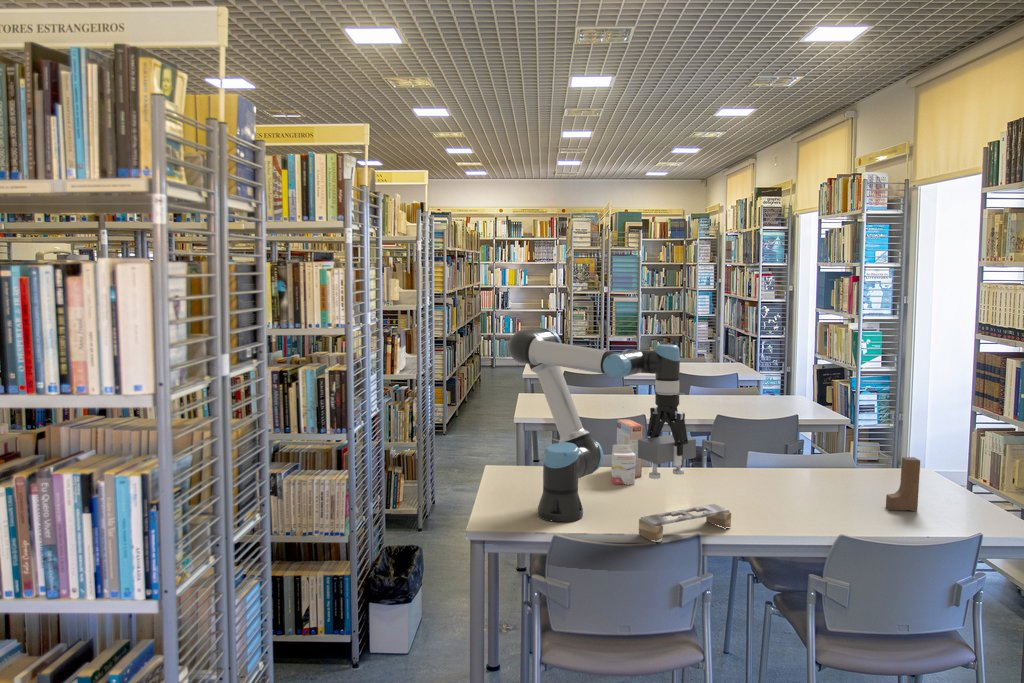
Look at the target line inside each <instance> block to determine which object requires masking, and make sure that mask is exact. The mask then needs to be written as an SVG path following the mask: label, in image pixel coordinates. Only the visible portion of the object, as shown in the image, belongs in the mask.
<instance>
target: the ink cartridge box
mask: <svg viewBox="0 0 1024 683" xmlns="http://www.w3.org/2000/svg"><path fill="white" fill-rule="evenodd" d="M620 447H626V448H627V449H619V448H620ZM635 461H636V455H635V454H634V453H633V445H620V444H619V445H617V444H612V452H611V472H610V482H611V483H612V485H613V484H614V485H615V484H622V485H621V486H623V485H624V484H625V485H624V486H626V484H627V486H628V485H629V484H635V485H636V483H635V482H636V481H635V480H636V477H635ZM629 486H630V485H629Z"/></svg>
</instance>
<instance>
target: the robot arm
mask: <svg viewBox="0 0 1024 683" xmlns="http://www.w3.org/2000/svg"><path fill="white" fill-rule="evenodd" d="M507 346H508V352H509V355H510V356H511V358H512V360H514V361H515V362H517V363H519V364H526V365H528V366H529V368H530V371H531V372H532V373H535V374H536V375H537V377H538V381H539V384H540V385H541V388H542V392H543V394H544V396H545V399H546V403H547V405H548V407H549V410H550V412H551V416H552V418H553V421H554V424H555V425H556V426H555V427H556V429H557V432H558V434H559V436H560V437H559V441H558V442H556V443H555V442H554V443H550V444H548V445H547V446H546V447H545V448H544V450H543V455H542V456H543V457H542V463H543V464H542V466H543V467H542V468H543V470H542V473H543V474H542V480H543V481H542V494H541V497H540V499H539V503H538V505H537V513H536V514H537V516H538V517H539V518H540V517H541V518H540V519H542V518H543V520H544V519H547V520H546V521H548V520H552V521H551V522H554V521H562V522H561V523H565V522H564V521H571V522H574V521H575V520H576V521H579V520H581V519H582V518H583V516H584V510H583V505H582V502H581V499H580V496H579V479H582V478H583V477H587V476H589V475H591V474H594V473H595V472H596V471H597V470H599V468H600V467H601V466H602V464H603V462H604V450H603V448H602V445H601V444H600V443H599V442H598V441H596V440H595V439H593V438H592V435H591V433H590V432H589V431H588V430H587V429H585V428H584V427H583V424H582V421H581V418H580V416H579V414H578V411H577V410H578V409H577V408H576V405H575V402H574V400H573V397H572V395H571V393H570V392H571V391H570V389H569V387H568V384H567V382H566V378H565V376H564V373H563V371H562V368H568V369H572V370H573V369H574V370H579V371H585V372H589V373H590V372H591V373H597V374H602V375H606V376H608V377H610V378H611V379H622V378H625V377H628V376H633V375H637V374H651V375H653V374H655V381H654V382H655V384H654V385H655V387H654V388H655V390H654V391H655V399H654V400H655V401H654V402H655V405H656V407H655V406H654V407H650V408H649V410H650V416H649V421H648V426H647V431H646V432H647V433H646V435H647V437H649V438H653V437H660V436H661V435H660V434H661V433H662V430H663V428H664V426H665V423H667V426H668V427H669V429H670V432H671V435H673V438H674V441H675V445H674V461H673V467H676V466H680V465H681V466H682V465H683V462H682V461H683V460H682V455H683V445H685V444H688V438H687V437H688V433H687V427H686V421H685V419H686V414H685V412H680V411H678V406H680V394H679V393H680V368H681V367H680V365H681V364H680V363H681V358H680V354H681V353H680V347H679V346H678V345H676V344H657V345H656V346H655V349H654V350H648V349H647V350H646V349H636V348H631V349H630V348H629V349H628V348H627V349H624V350H622V351H621V352H618V351H612V350H605V349H599V348H594V347H586V346H579V345H573V344H567V343H562V340H561V338H560V336H559V335H558V334H557V332H556V331H555V330H552V329H550V328H544V327H538V328H534V329H533V328H532V329H522V330H518V331H516V332H515V333H514V334H513V335H512V336H511V337H510V339H509V342H508V345H507ZM561 367H562V368H561ZM683 440H684V441H683ZM580 518H581V519H580ZM576 521H575V522H576Z"/></svg>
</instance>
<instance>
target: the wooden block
mask: <svg viewBox="0 0 1024 683" xmlns="http://www.w3.org/2000/svg"><path fill="white" fill-rule="evenodd" d="M900 467H901V468H900V473H901V474H900V484H899V487H898V489H897V491H895V492H894V493H887V494H886V495H885V496H886V498H885V507H886V508H887V509H888V508H889V509H888V510H890V511H893V510H905V511H904V512H907V511H906V510H912V511H911V512H917V511H918V507H919V506H918V504H919V490H920V488H919V487H920V474H921V473H920V472H921V459H918V458H916V457H913V456H912V457H911V456H908V457H907V456H902V457H901V466H900Z"/></svg>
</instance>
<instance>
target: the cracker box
mask: <svg viewBox="0 0 1024 683" xmlns="http://www.w3.org/2000/svg"><path fill="white" fill-rule="evenodd" d="M616 424H617V427H616V445H619V444H620V445H633V453H634V454H635V455H636V461H635V478H640V477H641V478H642V472H643V471H642V469H643V459H640V458H638V439H644V435H643V434H644V425H642V424H641V423H638V422H636V421H634V420H632V419H629V418H628V419H627V418H626V419H624V418H623V419H617V422H616ZM619 449H627V448H626V447H620V448H619Z"/></svg>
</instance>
